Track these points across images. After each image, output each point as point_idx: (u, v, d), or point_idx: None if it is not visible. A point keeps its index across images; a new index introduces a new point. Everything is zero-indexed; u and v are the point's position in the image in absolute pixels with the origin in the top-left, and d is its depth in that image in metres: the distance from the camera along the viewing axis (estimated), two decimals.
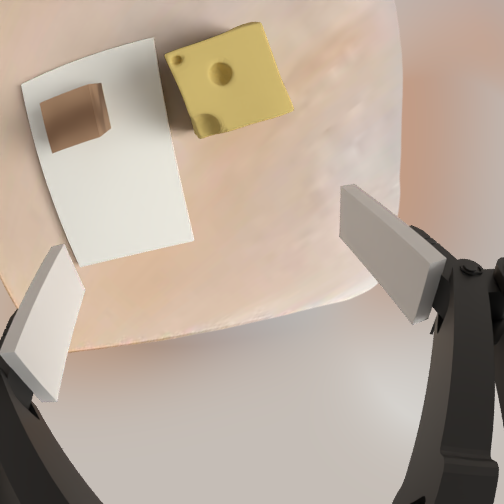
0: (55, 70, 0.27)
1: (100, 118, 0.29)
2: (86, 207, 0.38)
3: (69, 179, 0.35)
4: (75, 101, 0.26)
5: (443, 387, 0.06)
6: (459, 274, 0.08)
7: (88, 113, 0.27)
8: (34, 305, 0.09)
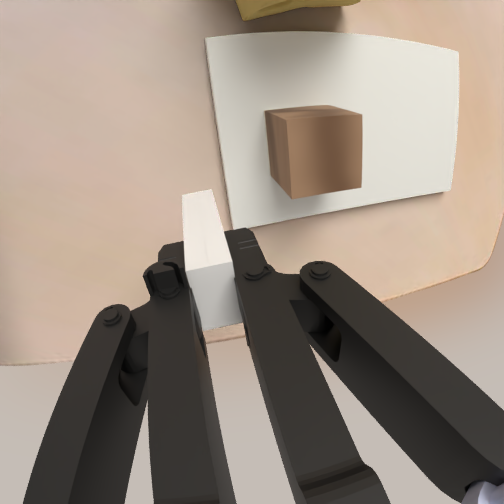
0: (228, 178, 0.27)
1: (328, 111, 0.22)
2: (404, 160, 0.30)
3: (371, 173, 0.30)
4: (307, 142, 0.21)
5: (272, 411, 0.06)
6: (244, 284, 0.09)
7: (328, 124, 0.21)
8: (203, 233, 0.12)
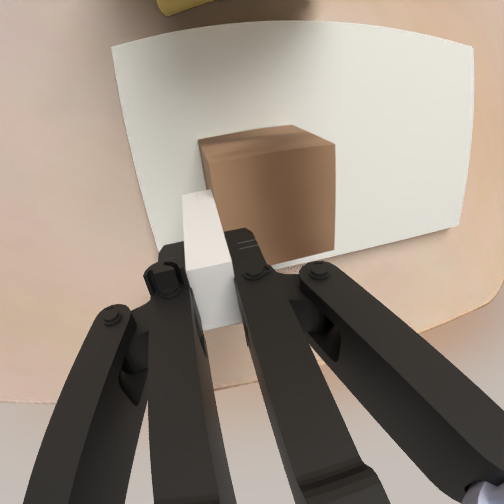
0: (155, 231, 0.21)
1: (284, 139, 0.15)
2: (399, 193, 0.23)
3: (353, 214, 0.24)
4: (245, 194, 0.14)
5: (272, 411, 0.06)
6: (244, 284, 0.09)
7: (279, 164, 0.14)
8: (203, 233, 0.12)
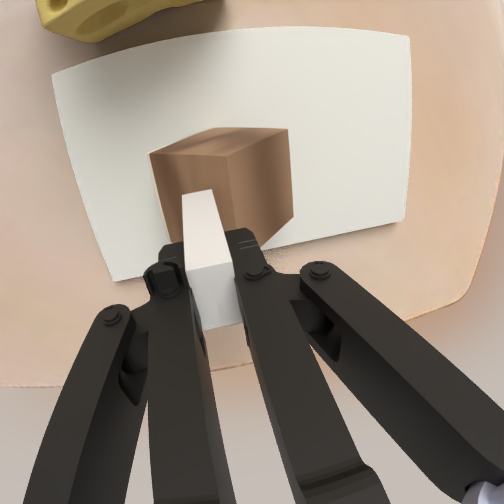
0: (95, 228, 0.23)
1: (241, 134, 0.18)
2: (327, 188, 0.25)
3: None
4: (247, 181, 0.16)
5: (272, 411, 0.06)
6: (244, 284, 0.09)
7: (263, 151, 0.16)
8: (203, 233, 0.12)
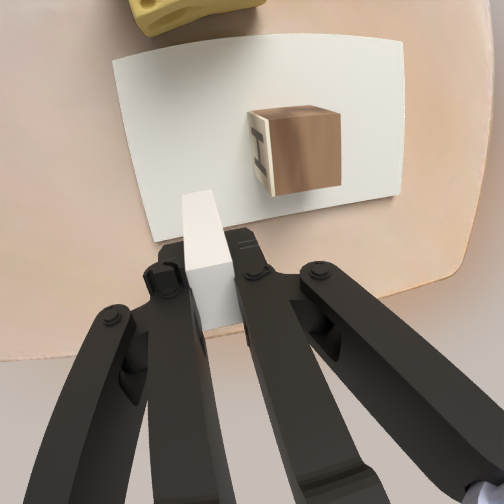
0: (142, 193, 0.28)
1: (296, 108, 0.25)
2: None
3: None
4: None
5: (273, 411, 0.06)
6: (244, 284, 0.09)
7: None
8: (203, 233, 0.12)
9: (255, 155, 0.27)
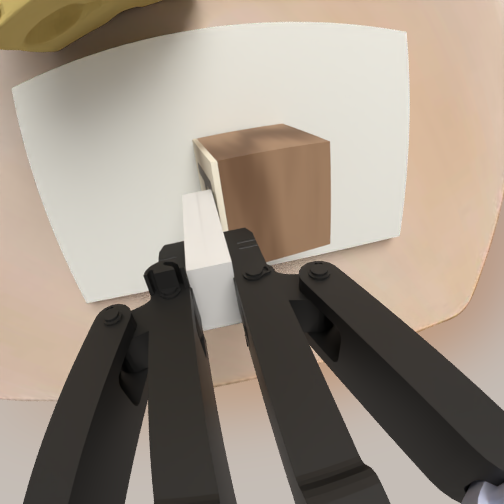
0: (63, 249, 0.21)
1: (262, 132, 0.18)
2: None
3: None
4: None
5: (272, 411, 0.06)
6: (244, 284, 0.09)
7: None
8: (204, 233, 0.12)
9: None
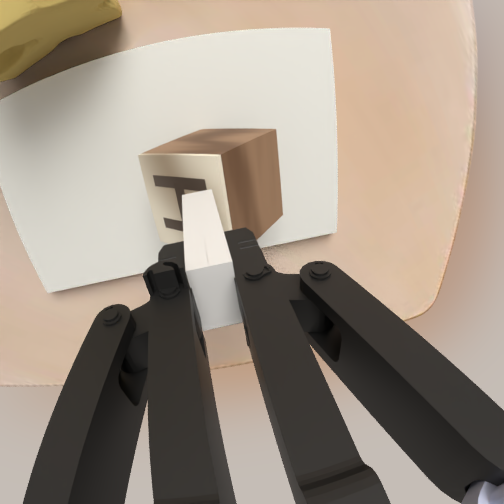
0: (26, 245, 0.22)
1: (202, 136, 0.19)
2: None
3: None
4: None
5: (272, 411, 0.06)
6: (244, 284, 0.09)
7: None
8: (203, 233, 0.12)
9: (168, 214, 0.18)
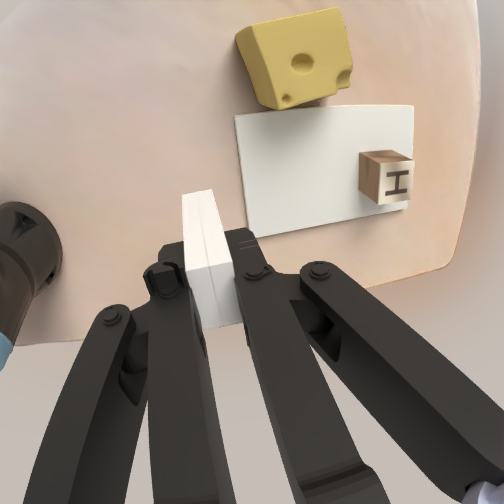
0: (248, 206, 0.44)
1: (376, 155, 0.41)
2: None
3: (343, 200, 0.47)
4: None
5: (272, 411, 0.06)
6: (244, 284, 0.09)
7: None
8: (203, 233, 0.12)
9: (388, 189, 0.40)
